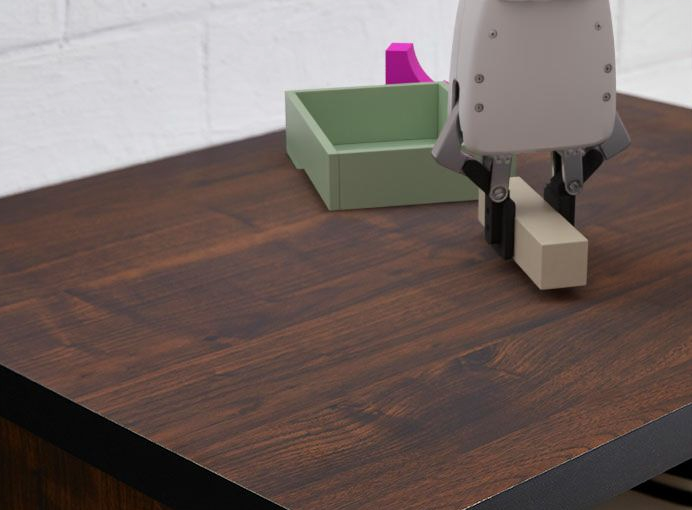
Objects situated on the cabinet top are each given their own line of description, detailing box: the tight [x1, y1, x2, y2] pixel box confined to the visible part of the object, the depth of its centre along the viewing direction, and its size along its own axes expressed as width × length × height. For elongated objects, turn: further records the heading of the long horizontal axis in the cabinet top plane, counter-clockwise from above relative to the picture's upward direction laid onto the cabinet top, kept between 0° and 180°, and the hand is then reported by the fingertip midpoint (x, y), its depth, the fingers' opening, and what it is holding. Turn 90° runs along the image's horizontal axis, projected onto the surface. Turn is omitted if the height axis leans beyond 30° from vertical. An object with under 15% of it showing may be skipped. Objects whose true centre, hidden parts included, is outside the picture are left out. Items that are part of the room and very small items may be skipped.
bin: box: [284, 80, 518, 212], centre depth 115 cm, size 15×22×6 cm
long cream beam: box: [477, 176, 589, 291], centre depth 92 cm, size 14×3×3 cm, turn 10°
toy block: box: [384, 42, 449, 85], centre depth 131 cm, size 15×6×8 cm, turn 78°
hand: (528, 247), depth 92 cm, fingers closed on long cream beam, 3 cm apart
